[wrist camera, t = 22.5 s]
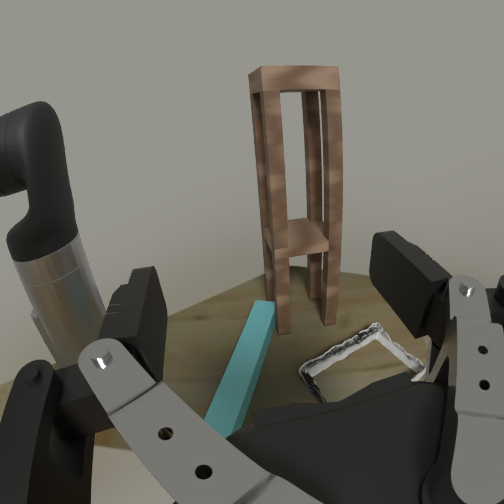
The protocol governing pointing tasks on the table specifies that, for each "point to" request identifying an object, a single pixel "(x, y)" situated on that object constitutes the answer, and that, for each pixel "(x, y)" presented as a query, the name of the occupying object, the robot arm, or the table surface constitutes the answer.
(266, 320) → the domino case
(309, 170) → the walnut stand
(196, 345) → the table surface
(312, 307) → the table surface
